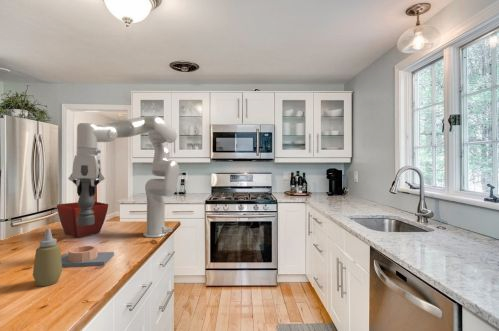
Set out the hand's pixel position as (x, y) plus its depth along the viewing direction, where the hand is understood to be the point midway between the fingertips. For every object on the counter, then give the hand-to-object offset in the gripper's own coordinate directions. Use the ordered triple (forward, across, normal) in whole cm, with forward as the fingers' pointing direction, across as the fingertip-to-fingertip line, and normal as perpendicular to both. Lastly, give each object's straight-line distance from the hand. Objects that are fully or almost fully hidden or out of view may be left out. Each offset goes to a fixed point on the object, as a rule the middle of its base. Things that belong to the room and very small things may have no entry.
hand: (86, 195), depth 117 cm
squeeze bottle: (+27, +2, +25) cm, 37 cm away
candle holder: (+12, 0, 0) cm, 12 cm away
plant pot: (+27, +18, -40) cm, 51 cm away
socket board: (+27, -1, +5) cm, 27 cm away
